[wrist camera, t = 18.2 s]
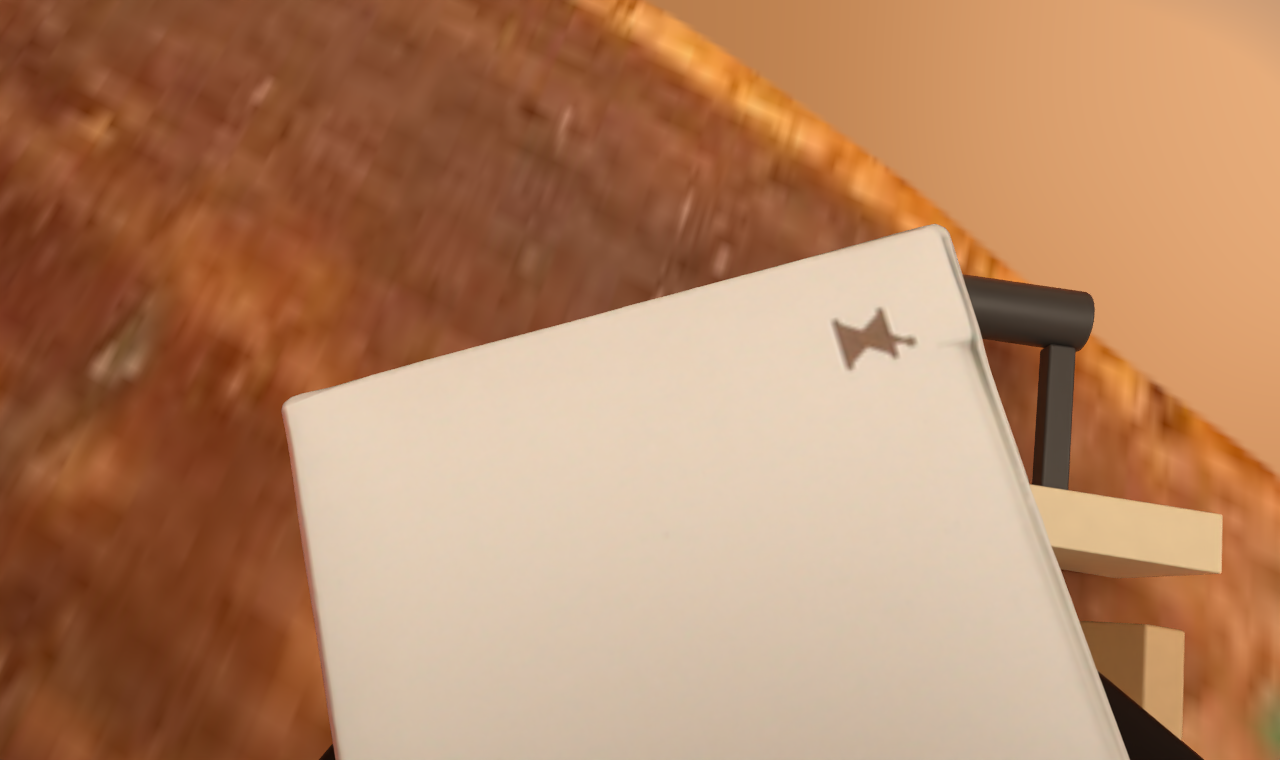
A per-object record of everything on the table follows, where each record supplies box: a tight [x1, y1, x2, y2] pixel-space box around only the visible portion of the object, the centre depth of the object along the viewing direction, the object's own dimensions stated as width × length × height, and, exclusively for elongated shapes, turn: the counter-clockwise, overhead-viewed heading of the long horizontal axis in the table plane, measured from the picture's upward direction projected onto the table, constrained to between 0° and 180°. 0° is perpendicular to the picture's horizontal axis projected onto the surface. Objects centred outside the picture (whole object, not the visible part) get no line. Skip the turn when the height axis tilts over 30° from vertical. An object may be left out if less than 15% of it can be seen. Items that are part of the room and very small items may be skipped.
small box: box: [282, 224, 1130, 760], centre depth 11 cm, size 8×6×10 cm
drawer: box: [962, 274, 1222, 741], centre depth 20 cm, size 17×10×4 cm, turn 171°
